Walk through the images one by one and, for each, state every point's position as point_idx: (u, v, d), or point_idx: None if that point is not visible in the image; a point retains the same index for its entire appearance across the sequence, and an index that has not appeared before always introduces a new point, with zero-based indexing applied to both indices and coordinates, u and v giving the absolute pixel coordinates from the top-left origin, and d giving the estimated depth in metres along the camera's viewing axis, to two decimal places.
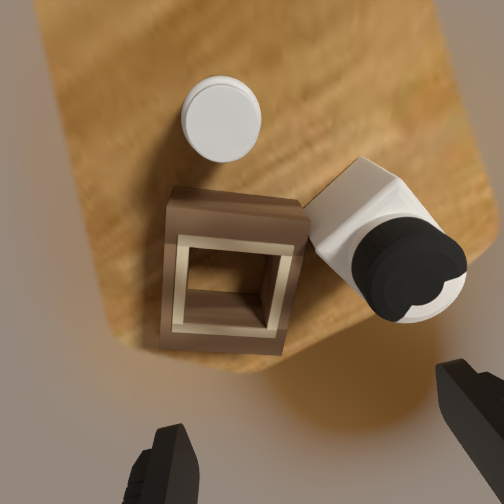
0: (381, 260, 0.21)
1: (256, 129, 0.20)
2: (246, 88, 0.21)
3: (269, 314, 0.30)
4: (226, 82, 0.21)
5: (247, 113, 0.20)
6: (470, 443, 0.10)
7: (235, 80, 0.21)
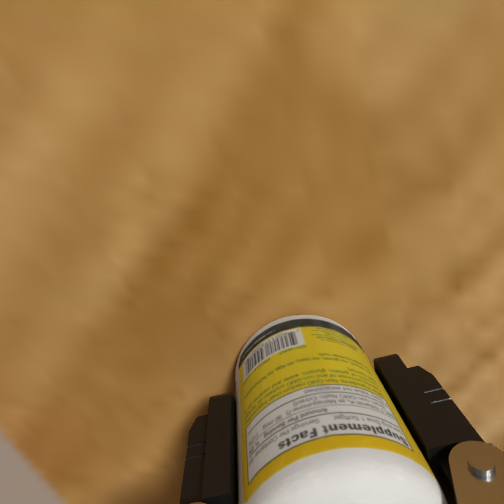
0: None
1: None
2: (393, 475, 0.07)
3: None
4: (336, 490, 0.07)
5: None
6: None
7: (356, 465, 0.07)
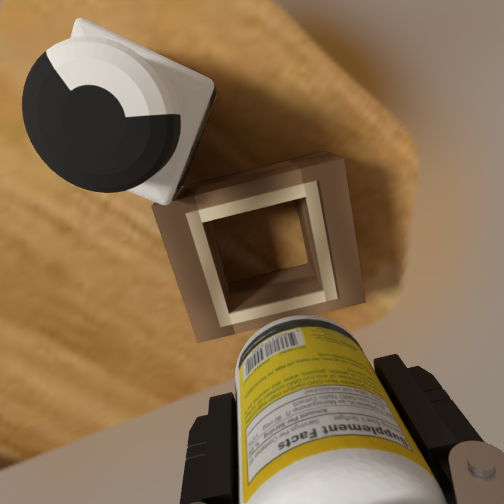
0: (93, 188, 0.16)
1: None
2: (393, 475, 0.07)
3: None
4: (336, 491, 0.07)
5: None
6: None
7: (355, 466, 0.07)
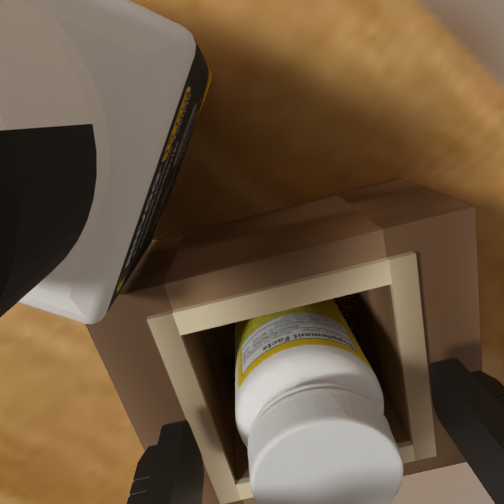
0: None
1: (397, 465, 0.10)
2: (339, 360, 0.11)
3: None
4: (299, 368, 0.11)
5: (370, 449, 0.09)
6: (463, 441, 0.10)
7: (313, 353, 0.11)
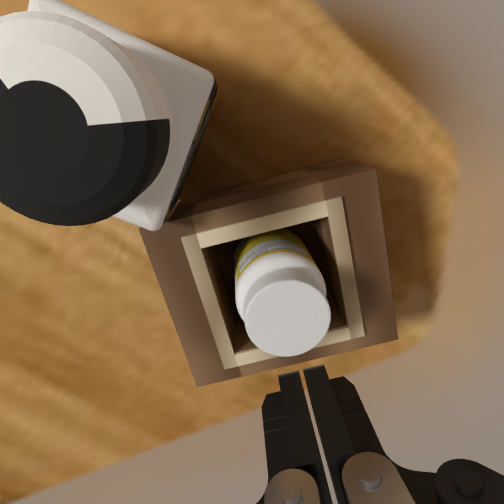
0: (50, 221, 0.12)
1: (326, 309, 0.17)
2: (296, 259, 0.18)
3: None
4: (273, 263, 0.18)
5: (311, 299, 0.17)
6: (321, 440, 0.11)
7: (281, 256, 0.18)
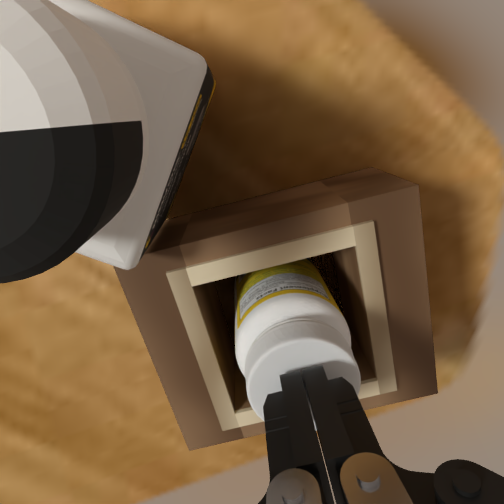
0: None
1: (355, 375, 0.13)
2: (314, 303, 0.14)
3: None
4: (284, 309, 0.14)
5: (335, 361, 0.13)
6: (320, 441, 0.11)
7: (294, 299, 0.14)
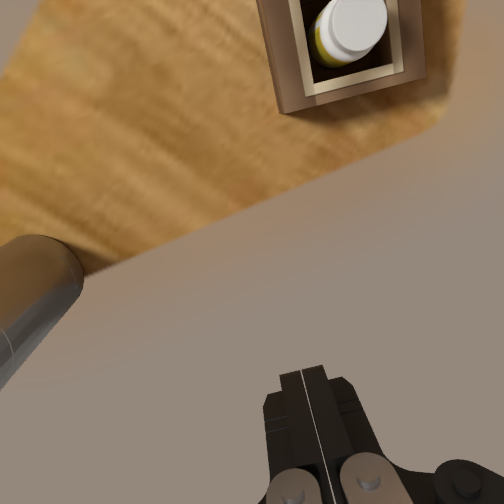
0: None
1: (385, 11, 0.27)
2: None
3: None
4: None
5: (375, 2, 0.26)
6: (320, 441, 0.11)
7: None
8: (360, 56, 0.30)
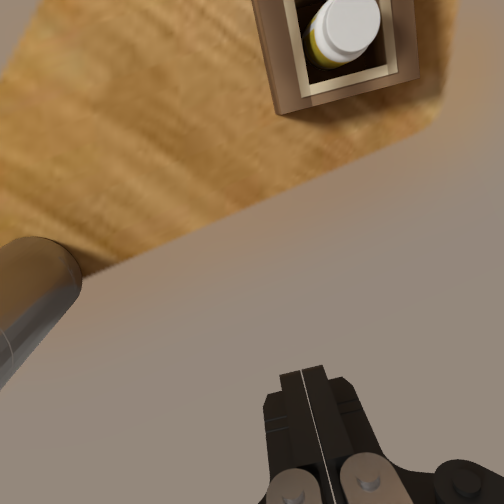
0: None
1: (378, 13, 0.27)
2: None
3: None
4: None
5: (368, 4, 0.27)
6: (320, 441, 0.11)
7: None
8: (354, 57, 0.30)
